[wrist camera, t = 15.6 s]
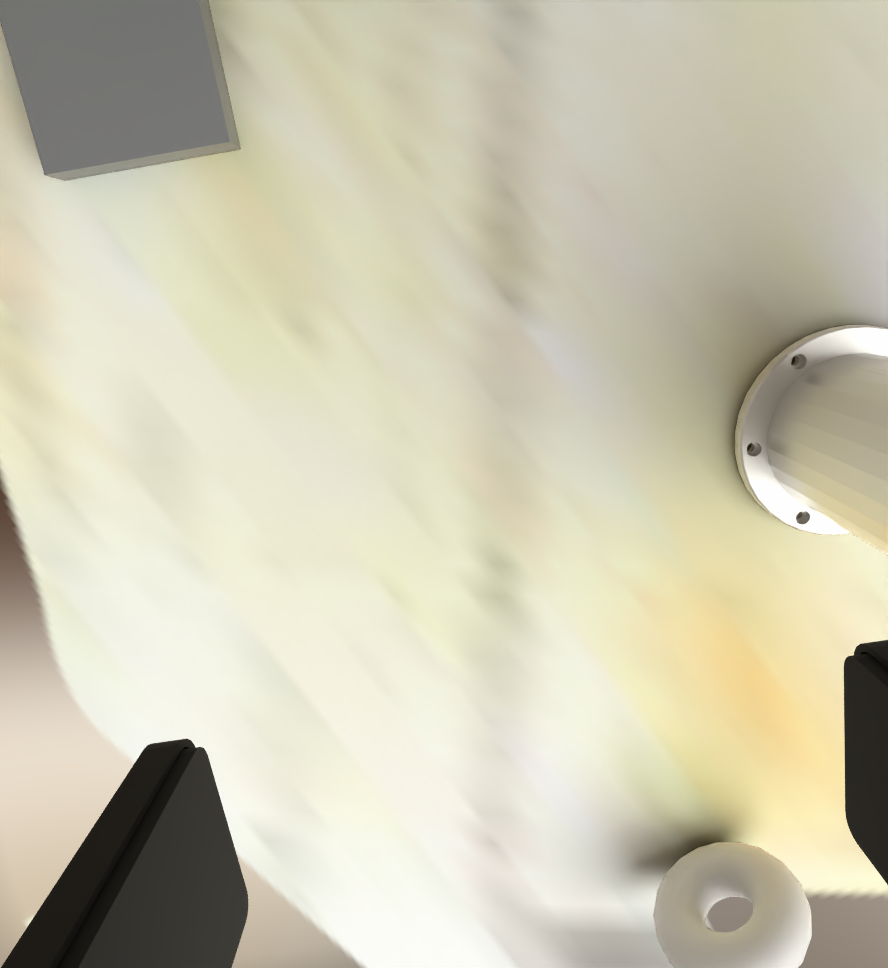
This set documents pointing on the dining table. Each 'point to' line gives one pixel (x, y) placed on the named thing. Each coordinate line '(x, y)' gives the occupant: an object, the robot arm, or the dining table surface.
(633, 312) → the dining table surface
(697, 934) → the donut
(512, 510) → the dining table surface
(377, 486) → the dining table surface
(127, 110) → the board
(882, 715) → the robot arm
